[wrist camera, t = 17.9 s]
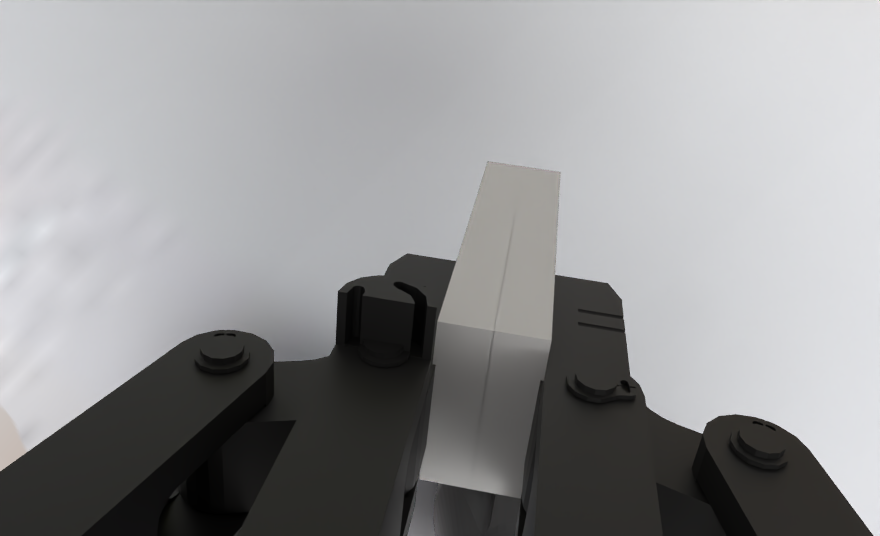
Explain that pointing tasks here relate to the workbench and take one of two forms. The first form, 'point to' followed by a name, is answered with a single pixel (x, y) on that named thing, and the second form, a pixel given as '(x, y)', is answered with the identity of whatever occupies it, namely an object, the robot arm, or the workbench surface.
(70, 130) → the workbench surface
